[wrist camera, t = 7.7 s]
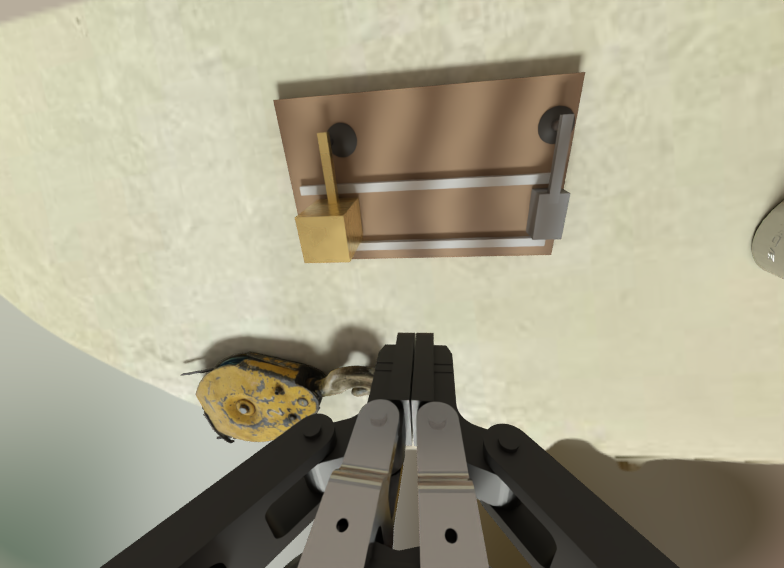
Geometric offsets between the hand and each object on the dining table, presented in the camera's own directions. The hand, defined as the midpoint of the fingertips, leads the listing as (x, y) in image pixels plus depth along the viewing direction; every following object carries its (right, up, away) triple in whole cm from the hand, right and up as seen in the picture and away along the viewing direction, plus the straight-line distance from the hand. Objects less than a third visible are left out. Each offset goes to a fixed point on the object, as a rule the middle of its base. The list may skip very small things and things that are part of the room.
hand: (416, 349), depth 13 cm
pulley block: (-15, -11, +32) cm, 38 cm away
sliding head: (-6, +12, +16) cm, 21 cm away
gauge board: (+2, +13, +17) cm, 21 cm away
